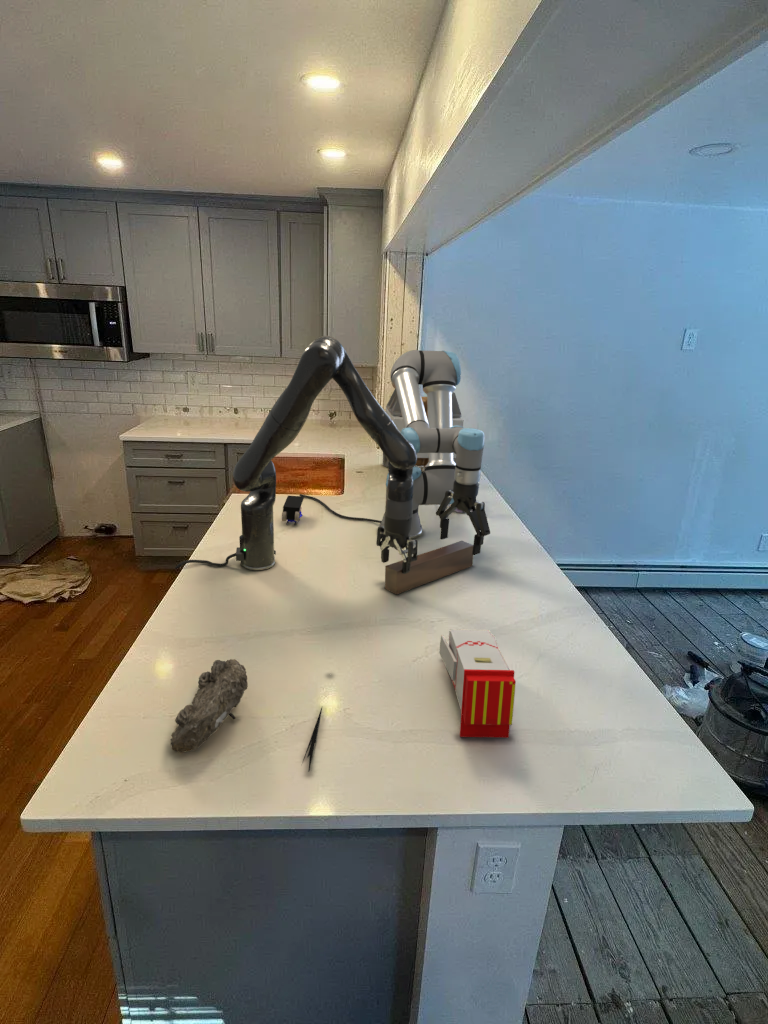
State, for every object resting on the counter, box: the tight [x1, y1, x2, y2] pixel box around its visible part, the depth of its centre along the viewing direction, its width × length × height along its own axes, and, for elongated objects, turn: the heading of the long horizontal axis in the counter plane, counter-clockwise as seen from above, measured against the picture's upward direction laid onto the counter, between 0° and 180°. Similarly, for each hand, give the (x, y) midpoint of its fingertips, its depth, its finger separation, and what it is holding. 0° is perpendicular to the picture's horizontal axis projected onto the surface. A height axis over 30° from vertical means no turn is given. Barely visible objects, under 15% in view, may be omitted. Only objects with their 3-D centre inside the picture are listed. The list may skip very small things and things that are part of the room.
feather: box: [301, 673, 332, 771], centre depth 108 cm, size 2×28×2 cm
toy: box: [438, 628, 517, 738], centre depth 117 cm, size 12×13×30 cm
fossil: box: [170, 658, 249, 753], centre depth 106 cm, size 22×10×15 cm
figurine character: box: [281, 495, 305, 526], centre depth 206 cm, size 7×8×15 cm
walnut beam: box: [384, 540, 474, 595], centre depth 168 cm, size 5×32×7 cm, turn 131°
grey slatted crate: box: [381, 388, 464, 468], centre depth 268 cm, size 34×33×41 cm
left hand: (395, 567), depth 160 cm, fingers open, 8 cm apart
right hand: (459, 545), depth 176 cm, fingers open, 13 cm apart
